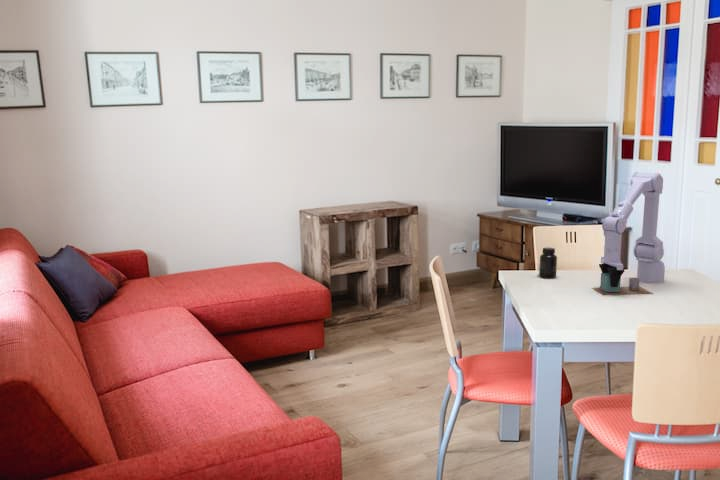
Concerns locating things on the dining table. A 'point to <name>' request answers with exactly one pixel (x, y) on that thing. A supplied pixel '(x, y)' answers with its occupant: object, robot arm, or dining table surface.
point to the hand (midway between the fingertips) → (610, 284)
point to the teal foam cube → (608, 283)
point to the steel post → (633, 284)
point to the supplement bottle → (548, 263)
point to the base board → (623, 291)
